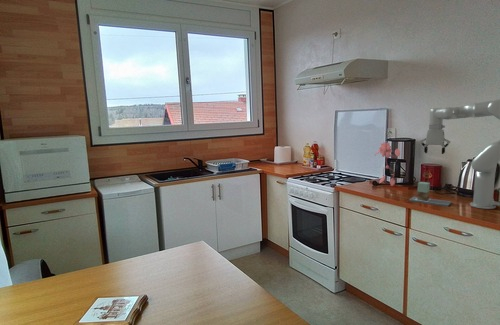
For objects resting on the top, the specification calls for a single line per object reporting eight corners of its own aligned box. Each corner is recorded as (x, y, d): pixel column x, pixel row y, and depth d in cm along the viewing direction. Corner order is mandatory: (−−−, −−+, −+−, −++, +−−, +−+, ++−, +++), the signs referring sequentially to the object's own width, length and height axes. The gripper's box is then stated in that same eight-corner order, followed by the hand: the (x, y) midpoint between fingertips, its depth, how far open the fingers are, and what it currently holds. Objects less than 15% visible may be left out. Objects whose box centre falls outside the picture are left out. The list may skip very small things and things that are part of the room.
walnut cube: (428, 199, 208) (429, 190, 207) (426, 201, 204) (427, 192, 203) (419, 197, 212) (419, 189, 211) (417, 199, 208) (417, 191, 207)
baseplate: (451, 202, 202) (451, 201, 202) (447, 206, 194) (447, 204, 194) (413, 197, 216) (413, 196, 216) (409, 201, 209) (409, 199, 209)
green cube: (429, 191, 207) (429, 182, 206) (426, 192, 203) (427, 184, 202) (420, 189, 211) (420, 181, 210) (417, 191, 207) (417, 183, 206)
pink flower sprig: (379, 181, 271) (379, 140, 265) (404, 187, 247) (405, 142, 242) (365, 183, 265) (365, 141, 260) (389, 190, 241) (390, 144, 236)
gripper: (452, 127, 204) (450, 153, 207) (422, 127, 216) (421, 152, 218) (449, 127, 199) (448, 154, 201) (419, 127, 210) (418, 153, 213)
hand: (434, 153), depth 210 cm, fingers open, 9 cm apart
